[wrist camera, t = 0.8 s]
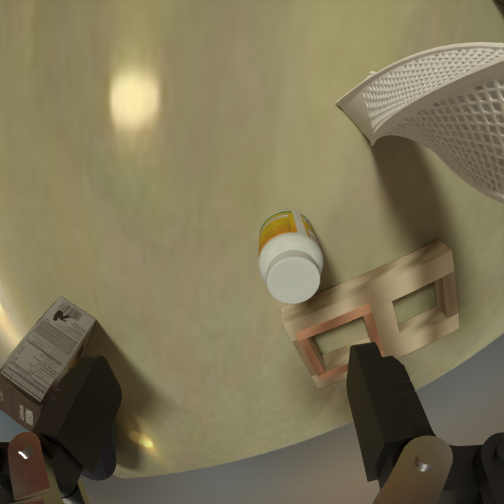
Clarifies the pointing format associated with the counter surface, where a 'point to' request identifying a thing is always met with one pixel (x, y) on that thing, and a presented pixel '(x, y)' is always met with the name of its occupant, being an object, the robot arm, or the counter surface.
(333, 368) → the cup caddy
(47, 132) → the counter surface
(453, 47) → the skyscraper
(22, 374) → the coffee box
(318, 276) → the supplement bottle
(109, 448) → the portable speaker
